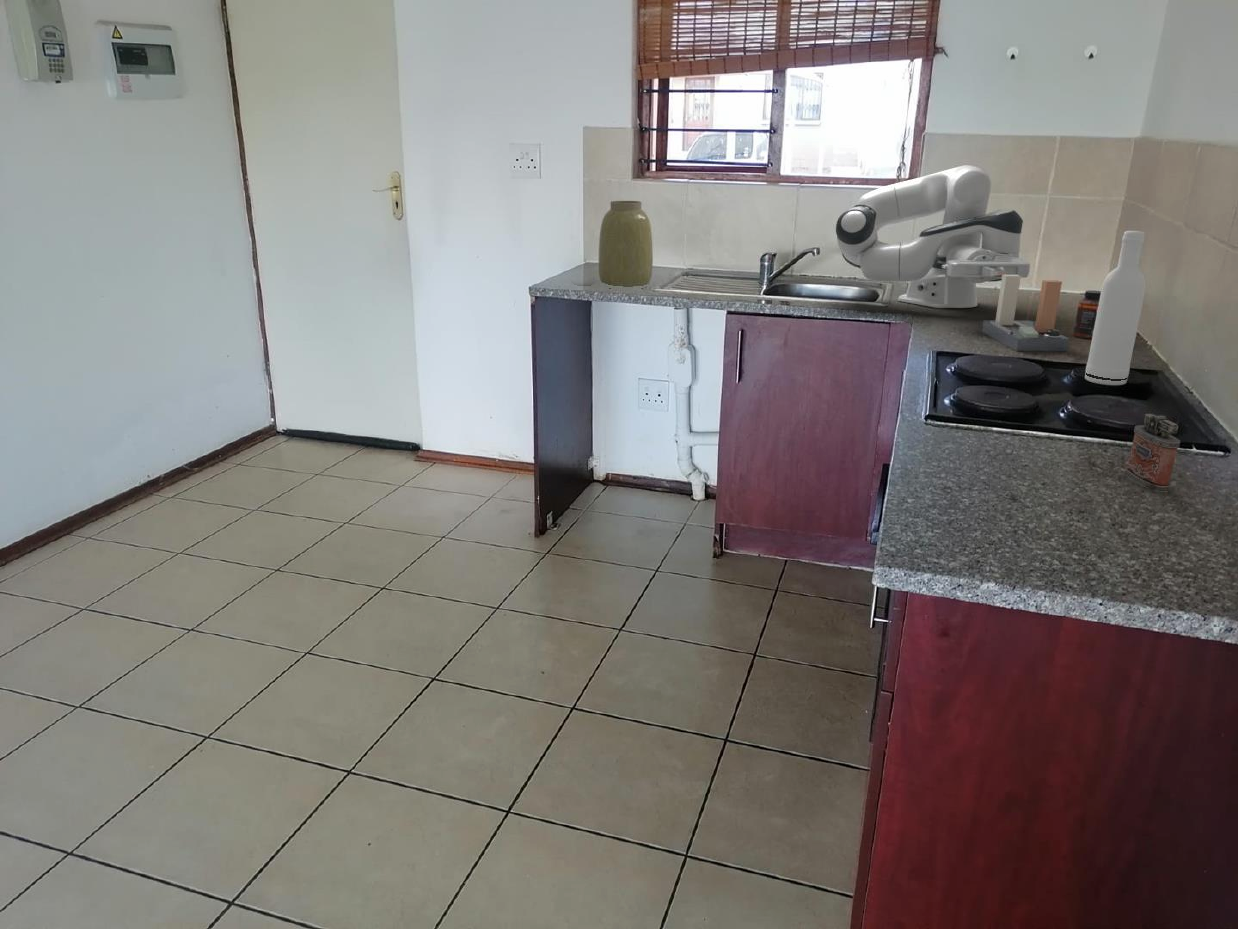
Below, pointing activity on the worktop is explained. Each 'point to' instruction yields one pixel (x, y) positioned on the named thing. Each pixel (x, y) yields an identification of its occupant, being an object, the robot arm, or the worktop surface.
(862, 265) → the robot arm
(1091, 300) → the supplement bottle
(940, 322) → the worktop surface
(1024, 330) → the rocker
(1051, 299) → the tall salmon pillar
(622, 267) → the vase
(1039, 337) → the platform
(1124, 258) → the bottle
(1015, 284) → the cream rectangular block
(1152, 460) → the lighter
